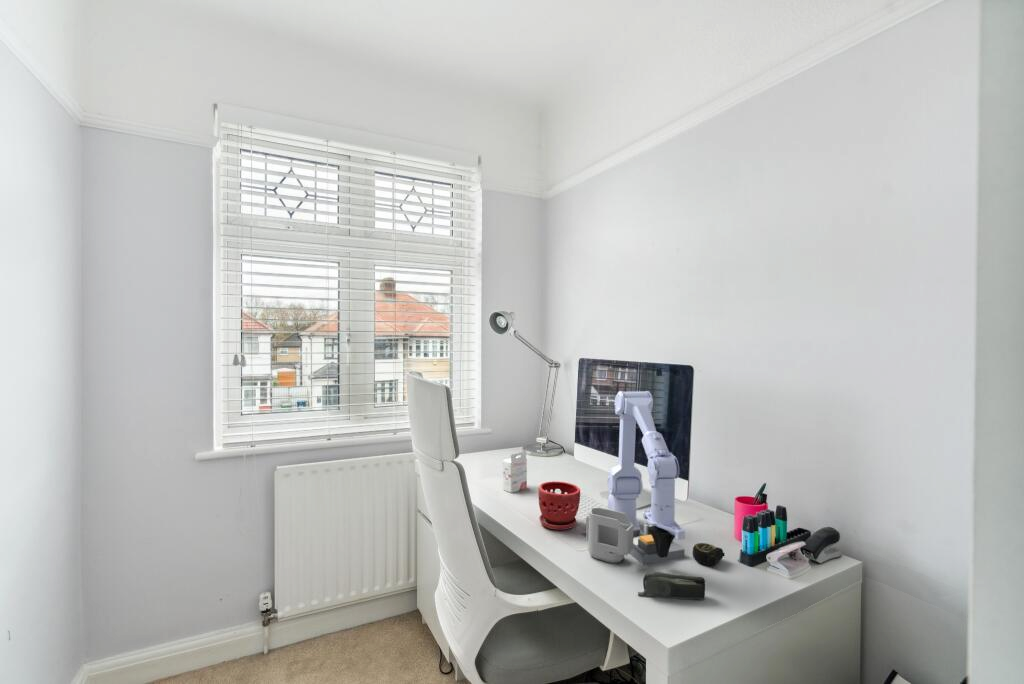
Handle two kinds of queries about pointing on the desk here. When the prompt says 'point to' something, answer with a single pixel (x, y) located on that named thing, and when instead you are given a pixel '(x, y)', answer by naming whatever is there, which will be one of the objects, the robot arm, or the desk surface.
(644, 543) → the block
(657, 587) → the dark elongated piece
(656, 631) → the desk surface
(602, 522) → the grey piece
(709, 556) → the tape measure
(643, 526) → the on rocker
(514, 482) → the ink cartridge box
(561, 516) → the plant pot
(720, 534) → the desk surface
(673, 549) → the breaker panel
